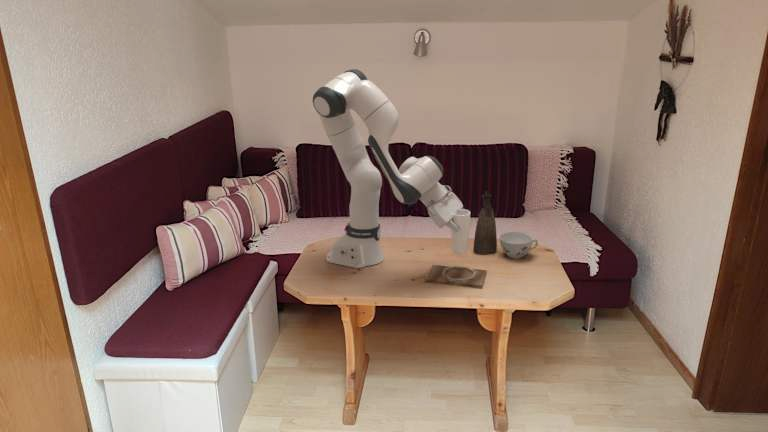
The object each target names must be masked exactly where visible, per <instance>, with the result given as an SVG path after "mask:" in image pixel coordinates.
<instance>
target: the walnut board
mask: <svg viewBox="0 0 768 432" xmlns="http://www.w3.org/2000/svg"><path fill="white" fill-rule="evenodd" d="M486 275H487V269H478V268H470V267H469V266H460V265H453V266H450V265H440V264H439V265H438V264H432V265H431V266H430V269H429V271H428V273H427V274H426V276H425V278H424V283H429V284H437V285H448V286H456V287H464V288H473V289H474V288H475V289H483V286H484V283H485V279H486Z"/></svg>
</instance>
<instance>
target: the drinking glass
mask: <svg viewBox="0 0 768 432" xmlns="http://www.w3.org/2000/svg"><path fill="white" fill-rule="evenodd" d="M455 210H456V211H457V212H458V213H457V214H453V213H452V215H453V218H452V219H451V220H452V221H453V223H454V224H455V225H456V226H458V227H459V228H460V230H459V231H458V232H457V233H455V232H454V231H453V230H452V229H450V234H451V236H450V237H451V251H452V253H453V254H456V255H465V254H466V253H468V245H469V238H470V237H469V236H470V230H471V228H470V227H471V211H470V210H469V209H465V208H462V209H455Z"/></svg>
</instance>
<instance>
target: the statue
mask: <svg viewBox="0 0 768 432" xmlns="http://www.w3.org/2000/svg"><path fill="white" fill-rule="evenodd" d="M480 197H481V200H482V201H483V202H482V205H483V207H481V208H480V212H479V215H478V218H477V221H476V222H477V223H476V227H475V232H474V238H473V239H474V240H473V254H475V255H491V254H492V255H493V254H495V253H497V251H498V250H497V248H498V246H497V244H498V241H497V225H496V217H495V213H494V209H493V207H492V204H491V201H490V200H491V199H492V195H491V194H488V191H487V190H485V192H484V194H482V195H480Z"/></svg>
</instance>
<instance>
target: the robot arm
mask: <svg viewBox="0 0 768 432" xmlns="http://www.w3.org/2000/svg"><path fill="white" fill-rule="evenodd" d="M312 104H313V107H314V110H315V111H316V113H317V114H318V115H319V119H320V121H321V124H322V127H323V130H324V132H325V134H326V136H327V138H328V140H329V143H330V144H331V146H332V149H333V151H334V153H335V155H336V157H337V160H338V162H339V164H340V166H341V169H342V171H343V173H344V176H345V178H346V180H347V181H348V183H349V185H350V187H351V189H350V192H351V193H350V202H349V205H348V207H349V221H348V222H347V225H345V227H344V228H343V231H344V232H345V233H344V234H342V235H341V236H339V237H338V238H337V239H336V240H335V241H334V242H333V244H332V247H331V251H329V252H328V253H327V254H326V256H325V261H326V263H331V264H335V265H340V266H341V265H342V266H345V267H349V268H355V269H361V268H365V267H367V266H368V267H370V266H374V265H376V264H377V265H378V264H380V263H381V262H383V261H384V259H385V257H384V254H383V250H382V246H381V240H380V239H381V224H380V223H379V222H380V217H379V213H380V212H379V210H380V209H379V208H380V207H379V203H380V198H381V197H380V196H381V188H382V186H383V178H382V174H381V171H382V173H383V174H384V176H385V178H386V180H387V181H388V183H389V184H388V185H389V186H390V189H391V191H392V193H393V195H394V196H395V198H396V199H397V200H398V202H400V203H401V204H404V205H414V204H416V203H417V202H418V201H419V200H420V201H421V202H422V203H423V204H424V206H425V207H426V210H427V214H428V215H429V218H431V220H432V222H433V223H434V224H435V225H436V226H437V227H438V228H439V229H442V228H444V227H445V226H447V228H448V229H450V230H451V229H452V230H453V231H454V232H455V233H457V232H458V231H459V230H460V228H459V227H458V226H456V225H455V224H454V223H453V221H452V220H451V219H452V218H453V215H452V213H453V214H457V213H458V212H457V211H456V210H455V209H464V205H463V203H462V201H461V200H460V198H459V197H458V196H457V195H456V194H455V193H454V192H453V191H452V188H451V187H450V186H449V185H443V184H441V183H440V182H439V181H440V180H441V178H442V177H443V174H444V168H443V165H442V164H441V162H440V161H439V160H438V159H437V158H436V157H434V156H432V155H424V156H423V157H419V158H417V157H415V156H410V157H408V158H406V160H404V161H403V162H402V164H401V165H400V166H399V169H398V166H397V165H396V163H395V162H394V160H393V159H392V157H391V154H390V152H389V145H390V141H391V140H392V138H393V136H394V134H395V133H396V131H397V129H398V126H399V120H400V115H399V113H398V110H397V109H396V108H397V107H395V105H394V103H392V101H390V99H389V97H388V96H387V95H386V94H385V93H384V92H383V91H382V90H381V89H380V88H379V87H378V86H377V85H376V84H375V83H374V82H372V80H368V78H367V76H366V75H365V74H364V72H362V71H361V70H359V69H356V68H353V69H348V70H345V71H344V72H343V73H341V74H338V75H336V76H335V77H333V78H332V79H331V80H330V81H328V82H326V83H325V84H323V86H321V87H319V88H318V89H317V90H316V91H315V92H314V94H313V96H312ZM350 110H352V111H354V112H355V113H356V114H357V115H358V116H359V118H360V119H361V120H362V122H363V123H364V124H365V126H366V128H367V131H368V139H367V143H368V147H369V148H370V151H371V152H372V153H371V154H373V157H374V158H375V160H376V162H377V163H378V164H377V165H378V166H379V167H380V169H381V171H380V170H379V169H378V168H377V167H376V166H375V165H374V164H373V163H372V161H371V159H370V156H369V154H368V151H367V149H366V148H367V147H366V145H365V142H364V139H363V137H362V135H361V133H360V131H359V129H358V126H357V123H356V122H355V120H354V118H353V115H352V114H351V111H350Z"/></svg>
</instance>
